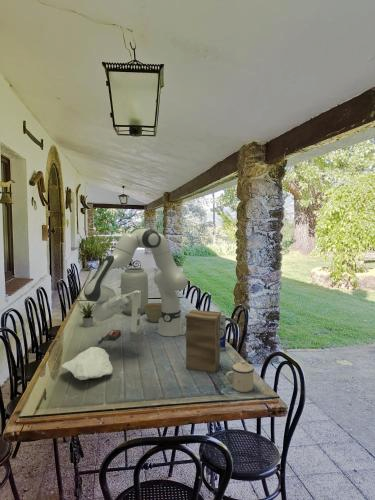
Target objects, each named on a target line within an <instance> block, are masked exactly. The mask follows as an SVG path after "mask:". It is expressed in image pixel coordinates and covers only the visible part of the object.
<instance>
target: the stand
mask: <svg viewBox="0 0 375 500" xmlns="http://www.w3.org/2000/svg"><path fill="white" fill-rule="evenodd" d="M220 315H222V312H221V311H213V310H211V311H210V310H199V309H191V310H190V311H188V313H186V314H185V315H184V319H185V323H186V324H185V326H186V333H185V369H186V370H192V371H199V372H206V373H213V374H215V373H216V371H217V369H218V368H219V366H220V365H221V361H220V360H221V359H220V358H221V356H220V355H221V354H220V353H221V351H220Z"/></svg>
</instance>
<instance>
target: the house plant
mask: <svg viewBox="0 0 375 500" xmlns="http://www.w3.org/2000/svg"><path fill="white" fill-rule="evenodd" d="M84 304H85V305H86V307H85V305H83V304H82V303H80V305H81V306H82V311H80V310H79V313H80V314H81V315H82V322H83V327H84V328H92V327H93V322H94V317H93V315H92V311H93V309H94V308H95V306H96V302H94V303H93V304H91V305H90V303H89V302H84Z"/></svg>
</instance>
